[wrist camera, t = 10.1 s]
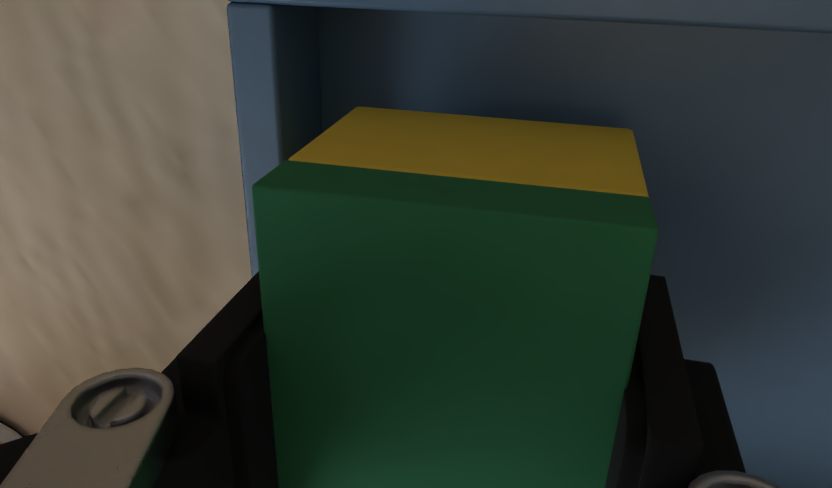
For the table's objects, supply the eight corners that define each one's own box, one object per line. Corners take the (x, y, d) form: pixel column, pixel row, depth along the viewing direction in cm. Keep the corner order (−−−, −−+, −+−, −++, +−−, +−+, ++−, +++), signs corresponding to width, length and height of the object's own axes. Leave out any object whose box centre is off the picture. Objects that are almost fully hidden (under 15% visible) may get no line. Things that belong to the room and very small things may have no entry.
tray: (290, -58, 12) (218, -55, 10) (1496, -18, 9) (1837, 1, 7) (316, 427, 17) (272, 509, 15) (1099, 567, 14) (1209, 702, 12)
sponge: (356, 105, 11) (250, 184, 8) (633, 127, 10) (659, 229, 7) (360, 430, 14) (285, 596, 11) (575, 470, 13) (572, 664, 10)
